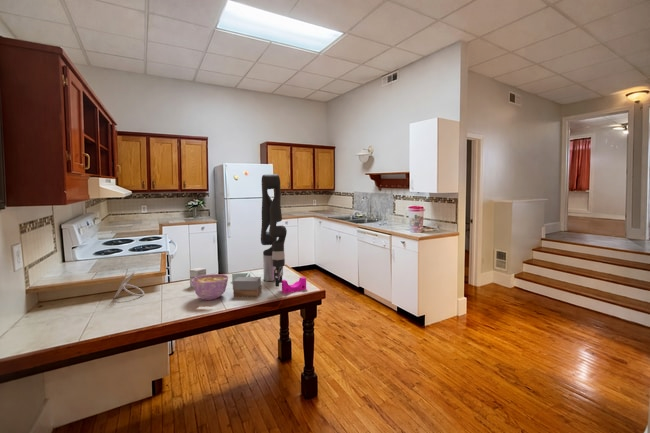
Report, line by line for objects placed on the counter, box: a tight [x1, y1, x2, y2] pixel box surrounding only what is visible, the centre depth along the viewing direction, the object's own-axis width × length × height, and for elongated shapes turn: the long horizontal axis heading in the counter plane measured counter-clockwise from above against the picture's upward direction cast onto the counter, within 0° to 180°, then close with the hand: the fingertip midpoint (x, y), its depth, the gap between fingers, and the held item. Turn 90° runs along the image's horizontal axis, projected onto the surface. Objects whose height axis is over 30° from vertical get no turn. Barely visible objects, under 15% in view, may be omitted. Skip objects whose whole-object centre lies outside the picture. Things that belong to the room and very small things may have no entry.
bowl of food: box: [192, 273, 229, 301], centre depth 178 cm, size 20×20×12 cm
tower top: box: [232, 276, 262, 290], centre depth 183 cm, size 10×14×5 cm
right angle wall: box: [231, 272, 251, 283], centre depth 202 cm, size 12×12×8 cm
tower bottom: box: [232, 284, 263, 298], centre depth 183 cm, size 10×14×5 cm
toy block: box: [281, 276, 307, 294], centre depth 191 cm, size 15×6×8 cm, turn 121°
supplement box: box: [189, 267, 207, 289], centre depth 199 cm, size 7×7×13 cm
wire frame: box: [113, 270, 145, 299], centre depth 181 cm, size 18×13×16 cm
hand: (278, 284), depth 187 cm, fingers open, 8 cm apart
